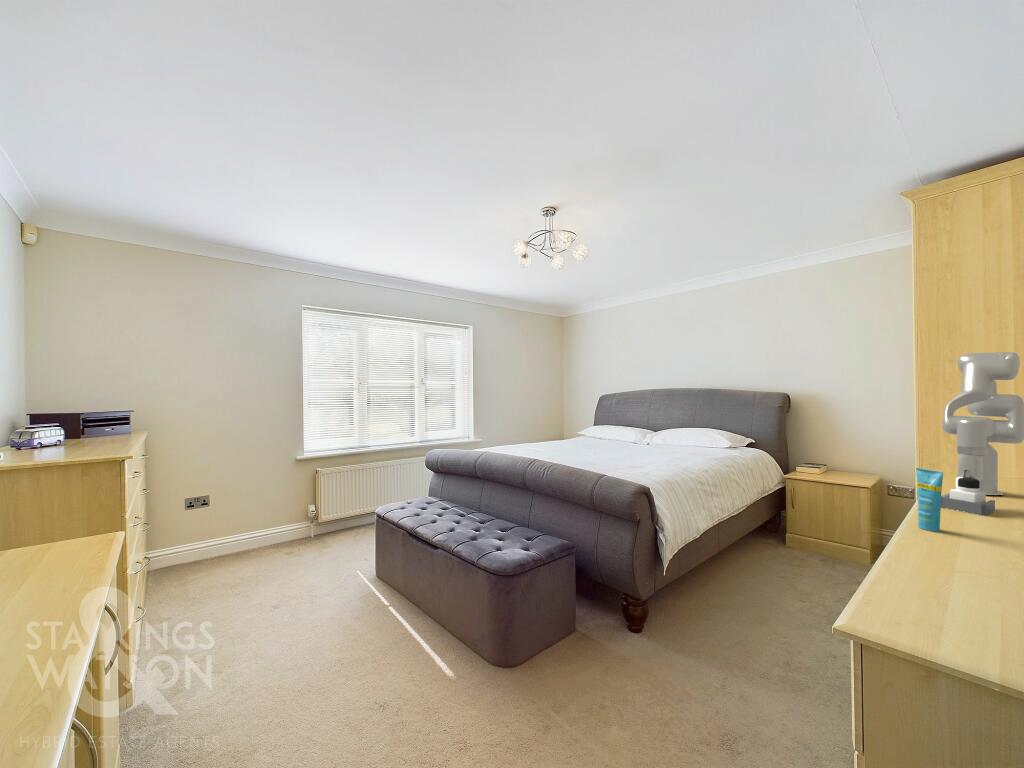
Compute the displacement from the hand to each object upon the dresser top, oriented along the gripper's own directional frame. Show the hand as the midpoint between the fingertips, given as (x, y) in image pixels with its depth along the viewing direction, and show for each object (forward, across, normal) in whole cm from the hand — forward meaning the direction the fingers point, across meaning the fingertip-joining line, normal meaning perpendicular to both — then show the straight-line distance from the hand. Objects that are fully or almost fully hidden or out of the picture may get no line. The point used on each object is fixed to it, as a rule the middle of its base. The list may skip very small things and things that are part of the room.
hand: (971, 499), depth 160 cm
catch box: (+3, +6, 0) cm, 7 cm away
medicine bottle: (+3, +6, 0) cm, 7 cm away
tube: (+2, +47, +1) cm, 47 cm away
